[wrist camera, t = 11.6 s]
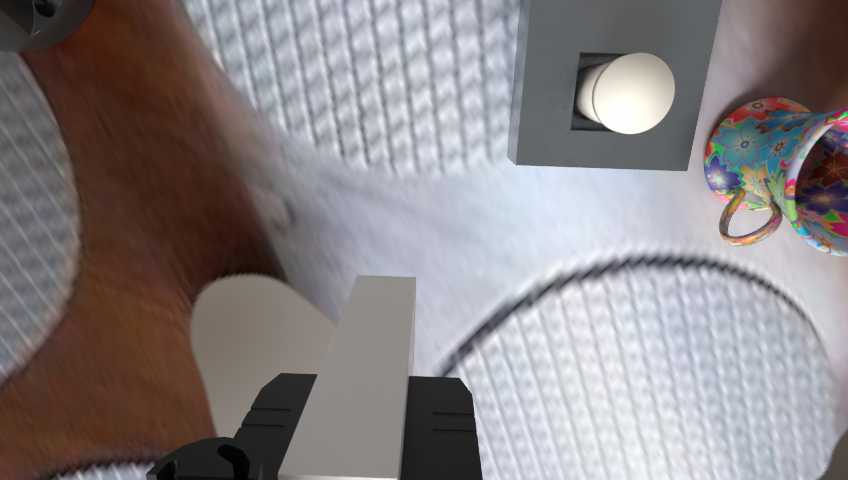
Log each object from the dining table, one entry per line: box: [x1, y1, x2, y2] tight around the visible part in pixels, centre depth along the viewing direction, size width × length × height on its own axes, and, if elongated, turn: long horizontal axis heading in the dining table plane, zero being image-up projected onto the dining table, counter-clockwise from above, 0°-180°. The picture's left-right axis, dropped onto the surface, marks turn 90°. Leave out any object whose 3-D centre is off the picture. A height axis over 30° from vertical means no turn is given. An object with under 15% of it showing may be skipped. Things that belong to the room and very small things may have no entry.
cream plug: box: [573, 53, 675, 134], centre depth 31 cm, size 5×5×7 cm
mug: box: [704, 97, 848, 257], centre depth 32 cm, size 12×9×11 cm
